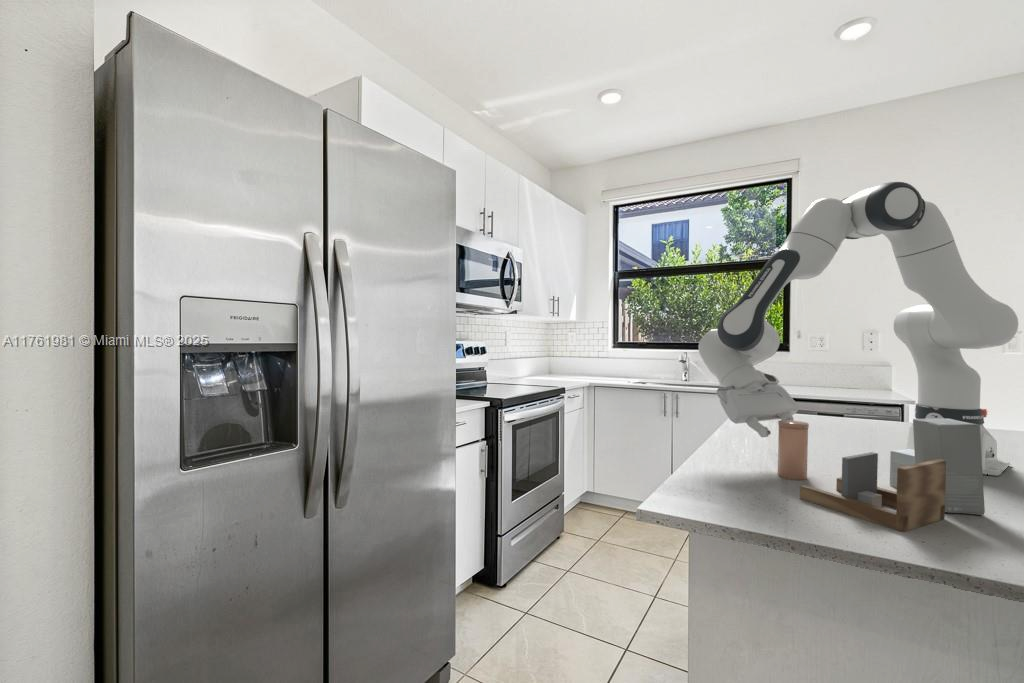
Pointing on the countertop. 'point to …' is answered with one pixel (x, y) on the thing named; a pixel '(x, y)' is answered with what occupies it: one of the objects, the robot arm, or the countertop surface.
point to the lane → (895, 498)
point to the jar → (792, 449)
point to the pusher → (861, 478)
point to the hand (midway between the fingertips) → (780, 434)
